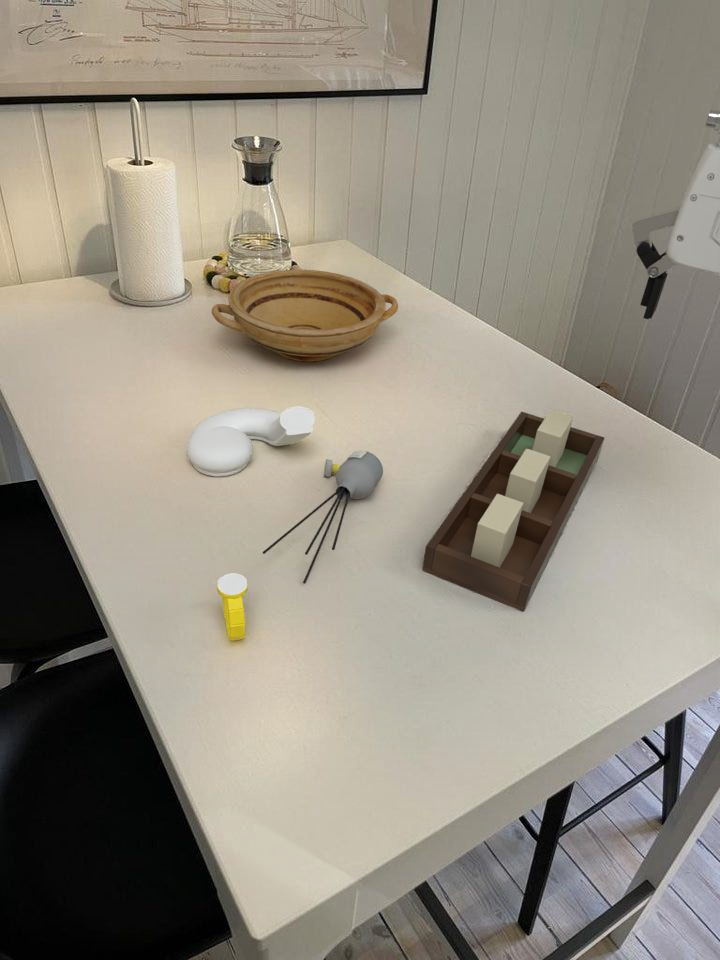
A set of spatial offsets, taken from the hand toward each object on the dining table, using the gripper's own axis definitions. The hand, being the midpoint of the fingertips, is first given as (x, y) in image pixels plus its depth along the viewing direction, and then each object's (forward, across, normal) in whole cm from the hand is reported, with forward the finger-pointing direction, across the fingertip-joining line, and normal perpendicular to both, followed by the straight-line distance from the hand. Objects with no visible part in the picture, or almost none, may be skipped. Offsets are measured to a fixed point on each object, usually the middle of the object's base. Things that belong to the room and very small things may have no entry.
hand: (700, 327), depth 72 cm
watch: (+26, -30, -35) cm, 53 cm away
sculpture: (+26, -46, -10) cm, 54 cm away
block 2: (+26, -12, -2) cm, 28 cm away
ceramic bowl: (+26, -55, +20) cm, 64 cm away
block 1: (+26, -12, -12) cm, 31 cm away
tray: (+26, -12, -2) cm, 29 cm away
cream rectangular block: (+26, -12, +8) cm, 29 cm away
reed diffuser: (+26, -30, -17) cm, 43 cm away
